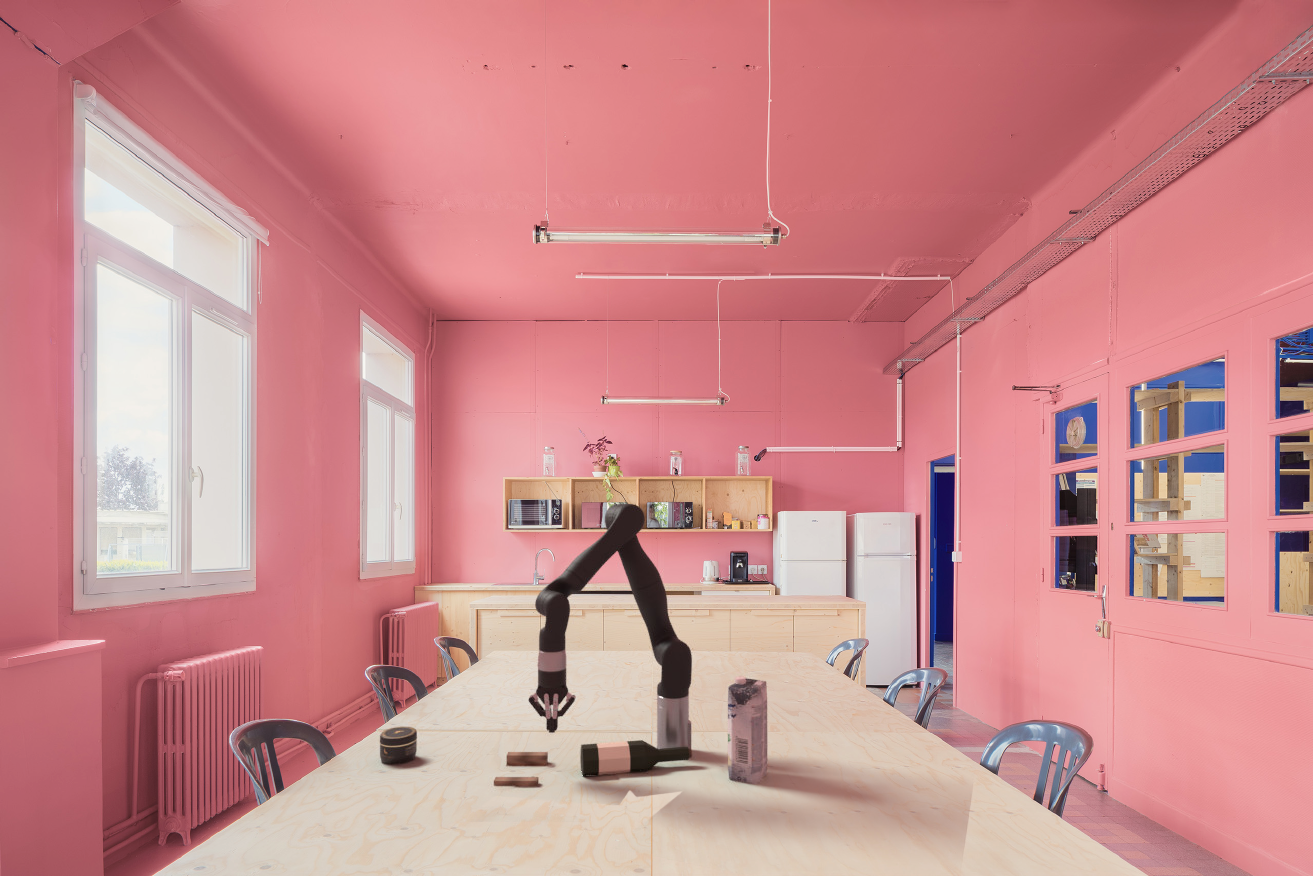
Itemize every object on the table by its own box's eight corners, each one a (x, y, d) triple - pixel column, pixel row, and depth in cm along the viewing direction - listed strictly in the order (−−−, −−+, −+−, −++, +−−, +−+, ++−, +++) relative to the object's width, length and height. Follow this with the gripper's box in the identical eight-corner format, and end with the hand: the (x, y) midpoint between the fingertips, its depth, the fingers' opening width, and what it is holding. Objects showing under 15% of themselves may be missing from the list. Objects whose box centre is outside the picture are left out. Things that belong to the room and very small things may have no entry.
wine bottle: (583, 778, 196) (695, 769, 202) (582, 744, 200) (692, 736, 205) (581, 778, 204) (689, 769, 210) (579, 745, 207) (686, 737, 213)
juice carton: (770, 777, 201) (769, 675, 202) (758, 793, 191) (757, 685, 192) (738, 771, 205) (737, 671, 205) (725, 786, 195) (724, 681, 196)
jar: (371, 763, 210) (371, 735, 210) (396, 750, 219) (396, 724, 220) (400, 769, 206) (400, 740, 207) (424, 755, 216) (424, 728, 216)
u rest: (547, 762, 210) (547, 752, 210) (537, 793, 192) (537, 781, 192) (508, 762, 210) (508, 752, 210) (493, 793, 192) (493, 781, 192)
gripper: (578, 662, 205) (578, 726, 205) (529, 662, 205) (529, 726, 205) (575, 670, 198) (575, 737, 197) (525, 670, 198) (524, 737, 197)
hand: (552, 731), depth 201 cm, fingers closed
